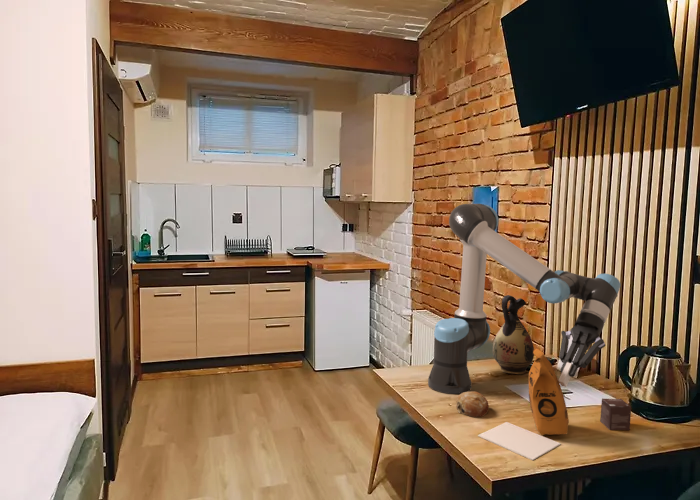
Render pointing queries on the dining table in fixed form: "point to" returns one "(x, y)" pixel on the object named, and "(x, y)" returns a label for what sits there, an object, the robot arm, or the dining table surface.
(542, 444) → the mat
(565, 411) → the coffee package
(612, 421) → the box
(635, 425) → the dining table surface
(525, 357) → the ceramic jug
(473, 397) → the bread roll
